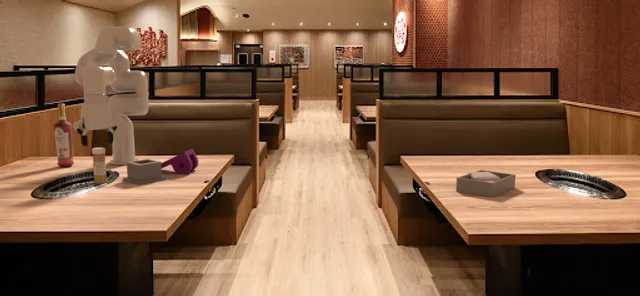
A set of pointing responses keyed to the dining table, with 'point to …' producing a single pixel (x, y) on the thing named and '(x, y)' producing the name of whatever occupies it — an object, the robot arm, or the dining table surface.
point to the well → (144, 171)
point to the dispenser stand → (486, 184)
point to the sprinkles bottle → (99, 165)
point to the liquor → (63, 139)
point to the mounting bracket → (183, 162)
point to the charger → (484, 176)
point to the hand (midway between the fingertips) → (97, 144)
